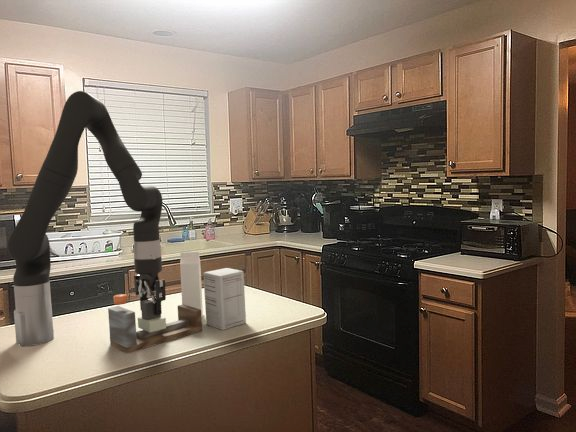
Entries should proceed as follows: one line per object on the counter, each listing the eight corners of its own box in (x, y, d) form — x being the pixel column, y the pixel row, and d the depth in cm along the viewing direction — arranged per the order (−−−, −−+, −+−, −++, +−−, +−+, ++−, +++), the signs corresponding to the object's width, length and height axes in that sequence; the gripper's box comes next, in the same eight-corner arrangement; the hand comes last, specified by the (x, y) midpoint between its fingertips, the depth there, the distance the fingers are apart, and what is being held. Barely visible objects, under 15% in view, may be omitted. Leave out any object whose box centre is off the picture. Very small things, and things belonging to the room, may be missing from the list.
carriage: (150, 332, 132) (148, 304, 131) (138, 327, 137) (136, 300, 136) (166, 328, 136) (164, 300, 135) (153, 323, 141) (152, 297, 140)
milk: (185, 316, 159) (181, 251, 158) (203, 314, 160) (199, 250, 158) (182, 321, 153) (179, 254, 152) (201, 319, 154) (198, 253, 152)
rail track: (126, 353, 126) (124, 314, 125) (110, 344, 133) (108, 308, 132) (202, 330, 143) (200, 296, 142) (184, 324, 150) (182, 291, 149)
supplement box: (229, 317, 155) (227, 267, 154) (247, 323, 149) (244, 270, 147) (205, 324, 149) (202, 271, 148) (222, 330, 142) (219, 275, 141)
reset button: (117, 305, 127) (116, 298, 127) (111, 303, 129) (111, 296, 129) (130, 302, 129) (129, 295, 129) (124, 300, 132) (123, 293, 132)
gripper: (123, 255, 137) (127, 311, 138) (148, 260, 127) (151, 320, 128) (147, 252, 142) (150, 306, 144) (172, 256, 132) (175, 314, 133)
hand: (151, 312), depth 136 cm, fingers open, 7 cm apart
